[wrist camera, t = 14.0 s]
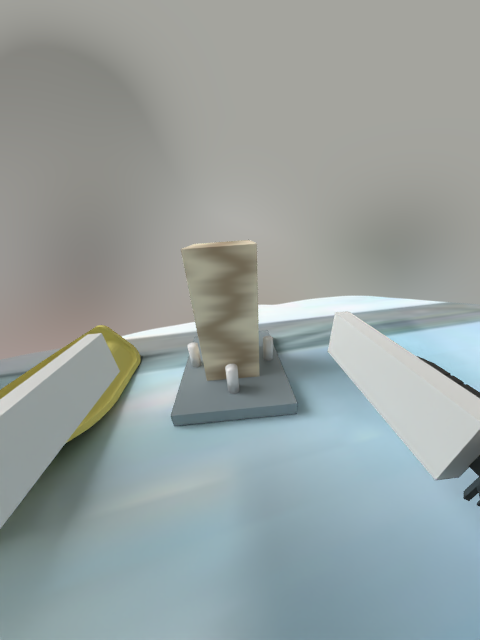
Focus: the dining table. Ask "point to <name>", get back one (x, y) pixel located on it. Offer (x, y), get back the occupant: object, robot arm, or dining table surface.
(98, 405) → the plastic component
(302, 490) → the dining table surface
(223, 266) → the birch block
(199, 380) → the pin plate
